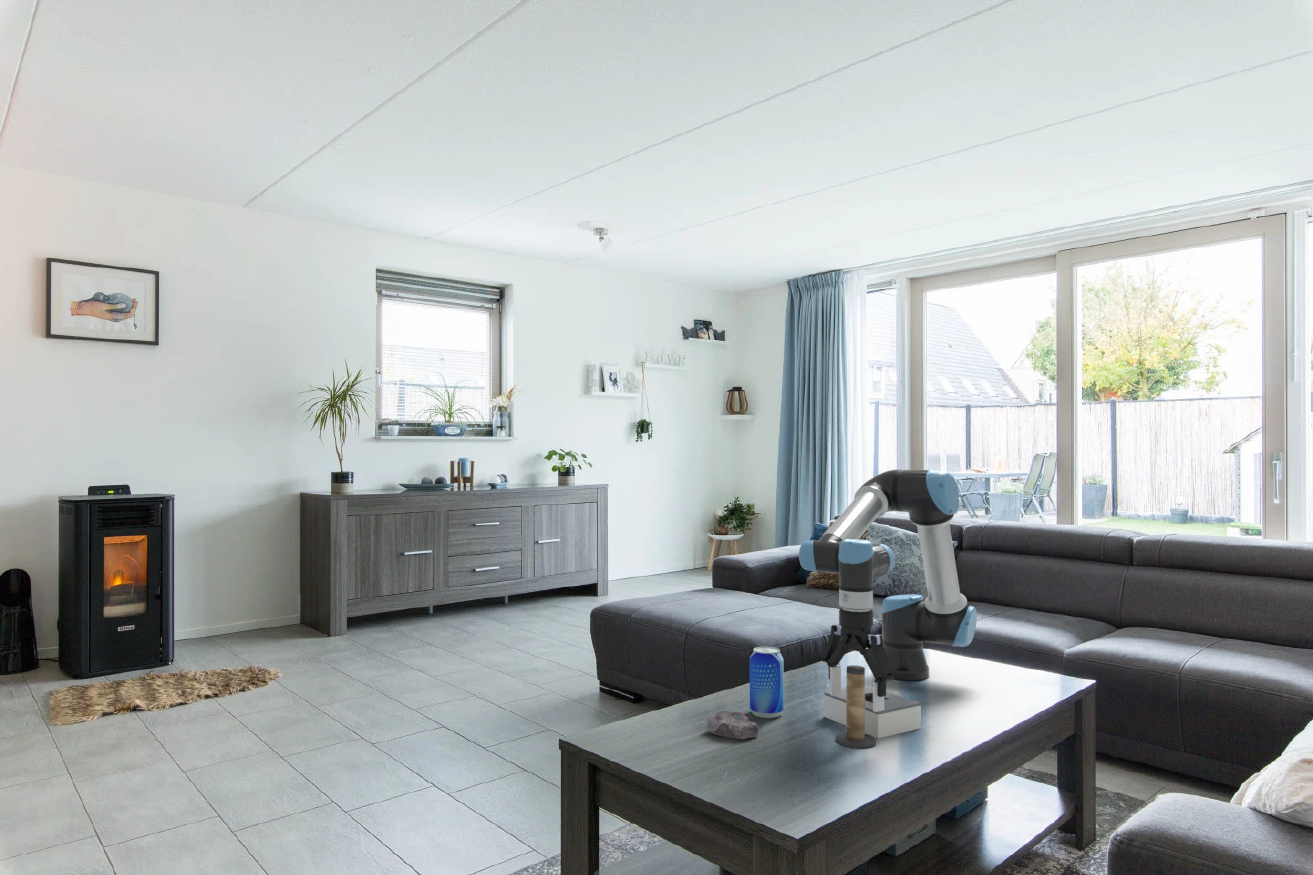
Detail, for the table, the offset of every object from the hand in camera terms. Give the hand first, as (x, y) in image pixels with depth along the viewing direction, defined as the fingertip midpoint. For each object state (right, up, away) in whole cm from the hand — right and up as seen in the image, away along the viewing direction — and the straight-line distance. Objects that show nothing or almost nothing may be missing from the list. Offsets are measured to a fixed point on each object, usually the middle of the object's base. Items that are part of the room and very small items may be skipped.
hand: (856, 702), depth 186 cm
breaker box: (+7, -9, +13) cm, 17 cm away
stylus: (0, -8, 0) cm, 8 cm away
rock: (-28, -9, +4) cm, 30 cm away
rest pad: (0, -9, 0) cm, 9 cm away
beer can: (-18, -9, +19) cm, 28 cm away
